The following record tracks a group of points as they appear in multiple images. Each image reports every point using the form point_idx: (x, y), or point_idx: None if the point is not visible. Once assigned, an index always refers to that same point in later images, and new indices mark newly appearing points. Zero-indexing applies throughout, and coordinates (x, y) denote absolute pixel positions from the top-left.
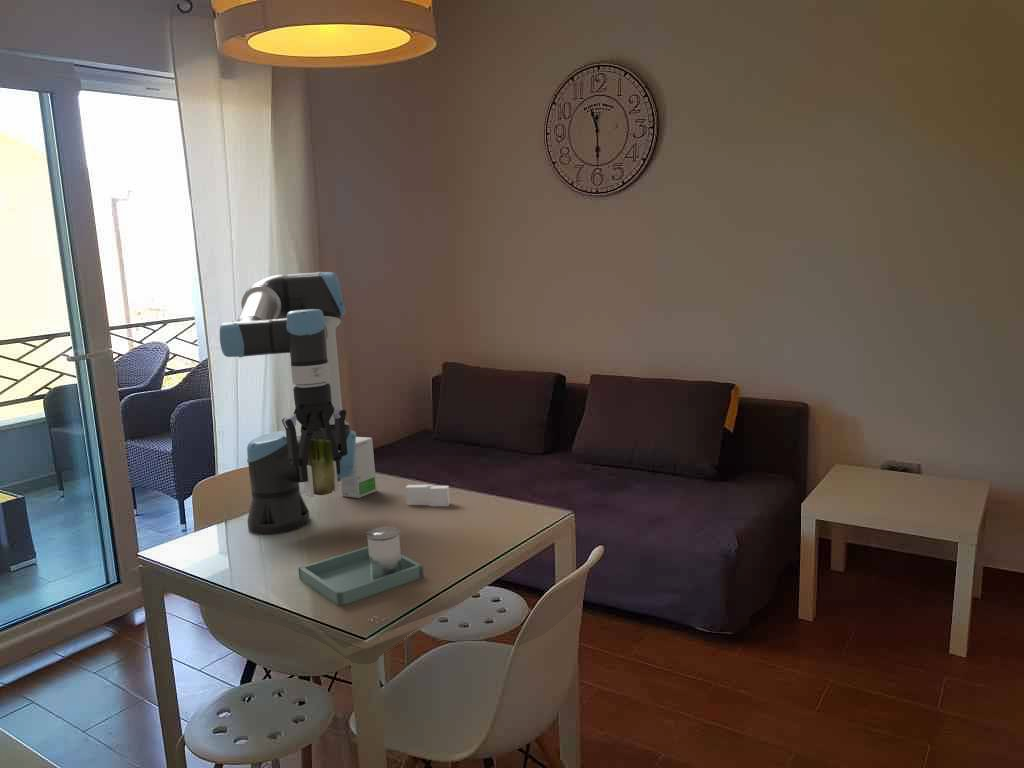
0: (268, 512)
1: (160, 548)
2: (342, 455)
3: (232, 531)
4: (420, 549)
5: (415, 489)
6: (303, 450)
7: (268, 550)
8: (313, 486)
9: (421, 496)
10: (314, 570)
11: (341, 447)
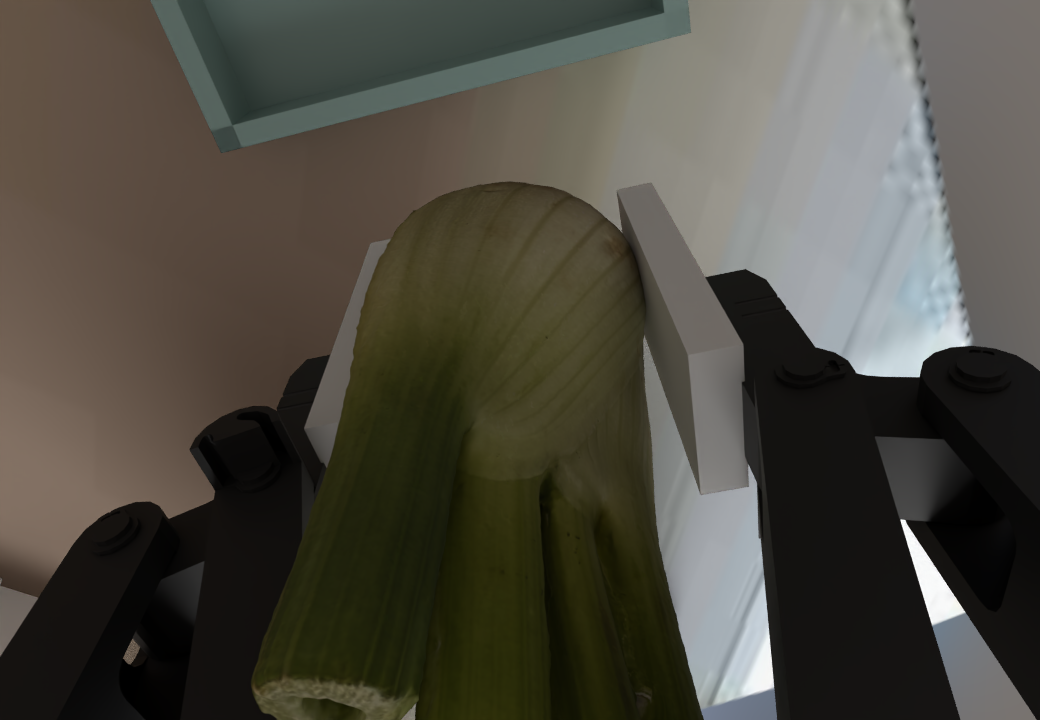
0: None
1: (945, 616)
2: (178, 524)
3: (716, 645)
4: (30, 131)
5: None
6: (906, 566)
7: (668, 453)
8: (625, 246)
9: (12, 626)
10: (602, 24)
11: (121, 618)
